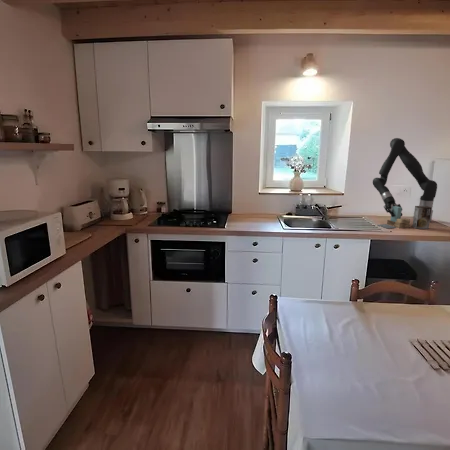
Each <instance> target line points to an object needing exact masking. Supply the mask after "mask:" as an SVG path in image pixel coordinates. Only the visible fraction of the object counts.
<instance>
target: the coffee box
mask: <svg viewBox="0 0 450 450" xmlns="http://www.w3.org/2000/svg"><path fill="white" fill-rule="evenodd" d="M431 209H432V210H433V207H432V208H431V207H429V206H419V205H415V206H414V211H413V212H414V213H413V217H412V218H413V219H412V220H413V221H412V228H414V229H416V230H417V229H419V230H421V229H422V230H423V229H424V230H429V228H430V216H431Z"/></svg>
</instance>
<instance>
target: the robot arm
mask: <svg viewBox="0 0 450 450" xmlns="http://www.w3.org/2000/svg"><path fill="white" fill-rule="evenodd" d="M405 145H406V142H405V140H404V139H402V138H399V137H395V138H393V139H391V140H390V142H389V147H390V148H391V149H390V152H389V154H388V156H387V157H386V158H385V160H384V162H383V163H382V165H381V167H380V170H379V172H378V174H379V175H380V177H374V178H373V179H372V185H373V187H374V188H375V189H376V190H377V192H379V195H380V197H381V200H382V201H383V204H384V205H383V208H384V210H385V212H386V213H387V214H388V213H389V214H390V217H391V216H392V217H394V216H395V215H394V213H393V212H392V209H393V207H392V206H397V207H402V206H401V204H400V203H398V204H397V203H396V200H395V198H394V196H393V193H392V192H391V191H390V190H389V188H388V186H386V184H387V182H388V177H389V174H390V171H392V167H393V165H394V163H395V161H396V160H397V158H398V157H399V159H400V160H401V163H402V164H403V165H404V167H405V168H406V170H407V171H408V172H409V173H410V174H411V176H412V177H413V178H414V179H415V181H416V182H417V184H418V186H419V187H420V189H421V190H422V191H423V194H422V195H421V196H420V198H419V205H418V206H429V207H431V208H432V209H431V216H430V222H432V220H433V212H434V210H433V208H434V206H433V205H434V201H435V198H436V195H437V190H438V184H437V183H438V182H436V181H435V180H432V179H430V178H428V177H427V176H426V174H425V172H424V170H423V167H422V165H421V163H420V162H419V160H418V159H417V158H416V157H415V155H413V154H412V153H411V152H410V151H409V150H408V149H407V147H406V146H405ZM402 216H403V212H401V217H402Z"/></svg>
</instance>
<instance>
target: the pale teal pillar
mask: <svg viewBox="0 0 450 450" xmlns="http://www.w3.org/2000/svg"><path fill="white" fill-rule="evenodd" d="M392 207H393V209H392V212H393V213H394V215H395V216H394V217H392V216H391V215H390V219H389V220H390V221H394V222H395V221H397V219H402V216H401V213H403V207H402V206H401V207H397V206H392Z"/></svg>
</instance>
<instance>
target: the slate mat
mask: <svg viewBox="0 0 450 450" xmlns="http://www.w3.org/2000/svg"><path fill="white" fill-rule="evenodd" d="M377 226H378V227H380V226H381V228H384V229H388V230H390V229H397V227H394V226H392V225H389V224H387V223H386V224H377Z"/></svg>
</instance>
